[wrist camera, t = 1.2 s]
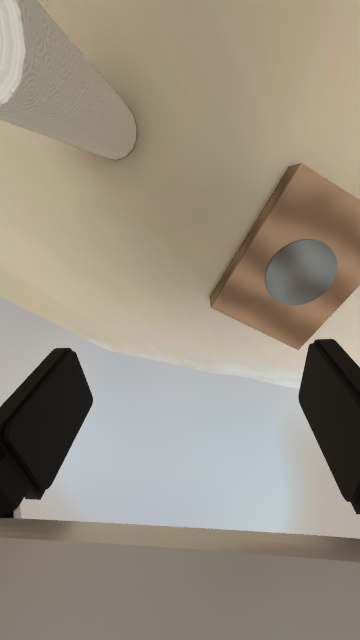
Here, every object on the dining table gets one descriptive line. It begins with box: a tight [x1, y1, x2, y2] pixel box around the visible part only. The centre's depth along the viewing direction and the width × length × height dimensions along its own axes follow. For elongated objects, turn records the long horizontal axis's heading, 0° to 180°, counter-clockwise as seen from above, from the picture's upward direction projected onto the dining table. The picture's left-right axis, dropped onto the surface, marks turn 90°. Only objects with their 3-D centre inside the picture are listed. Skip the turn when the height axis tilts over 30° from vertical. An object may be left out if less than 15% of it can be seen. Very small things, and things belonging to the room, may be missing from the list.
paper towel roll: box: [0, 0, 137, 160], centre depth 19 cm, size 7×6×21 cm
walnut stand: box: [210, 163, 360, 350], centre depth 33 cm, size 20×16×4 cm
